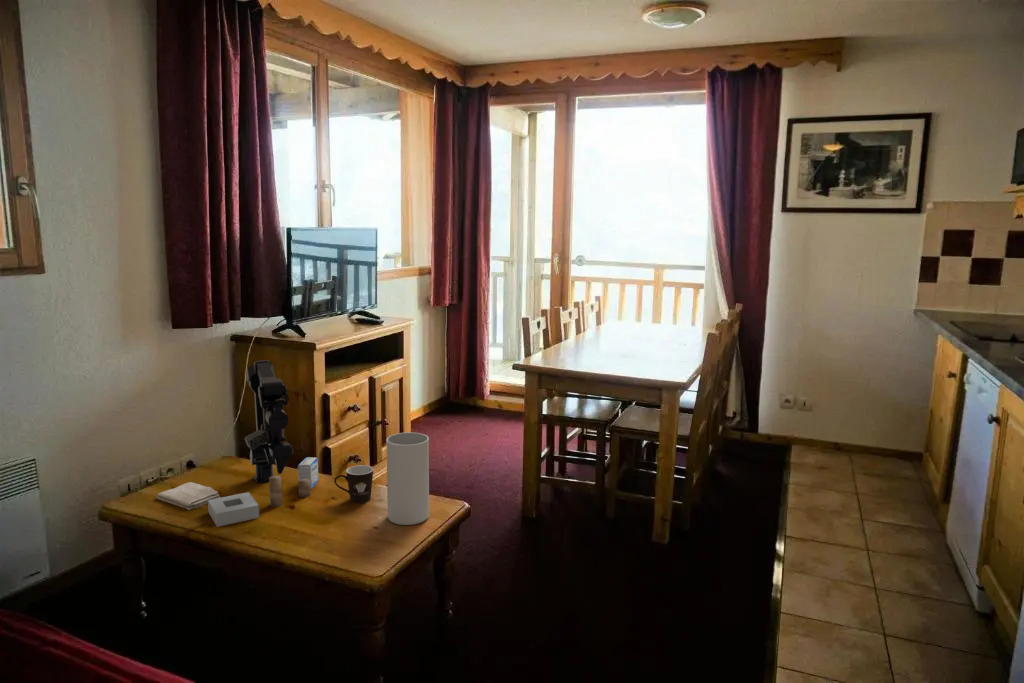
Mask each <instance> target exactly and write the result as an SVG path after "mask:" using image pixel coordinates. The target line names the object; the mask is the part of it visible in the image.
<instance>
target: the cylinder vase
mask: <svg viewBox="0 0 1024 683" xmlns="http://www.w3.org/2000/svg"><path fill="white" fill-rule="evenodd" d="M429 440H430V439H429V436H428V435H426V434H424V433H420V432H399V433H394V434H391V435H388V437H387V438H386V486H387V487H386V490H387V491H386V492H387V493H386V494H387V496H386V498H387V500H386V502H387V509H386V510H387V519H388V520H389V522H391V523H393V524H396V525H398V526H411V525H412V526H413V525H417V524H421V523H423V522H425V521H426V520H427V519H428V518H429V516H430V470H429V469H430V462H429V460H430V457H429V456H430V455H429V454H430V453H429V450H430V447H429V446H430V445H429V444H430V443H429V442H430V441H429Z"/></svg>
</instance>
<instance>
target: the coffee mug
mask: <svg viewBox="0 0 1024 683" xmlns="http://www.w3.org/2000/svg"><path fill="white" fill-rule="evenodd" d="M345 473H346V475H345V474H338V475H337V476H336V477H335V478H334V485H335V486H336V487H338V489H341V490H343V491H344V492H346V493H348V494H349V499H350V502H351V503H354V504H365V503H368V502H370V501H371V498H372V497H371V496H372V488H373V487H372V486H373V477H374V476H373V475H374V468H373V467H372V466H370V465H363V464H362V465H361V464H360V465H354V466H350V467H348V468H347V469H346V471H345ZM339 478H344V479H345V481H346V482H347V485H348V486H347V487H348V489H347V488H345V487H342V486H340V485H339V484H338V483H337V480H338V479H339Z"/></svg>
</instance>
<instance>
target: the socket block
mask: <svg viewBox="0 0 1024 683" xmlns="http://www.w3.org/2000/svg"><path fill="white" fill-rule="evenodd" d="M259 506H260V504H258V502H257V501H256V500H255V498H254V497H253V496H252V494H251V493H250V492H249V491H247V492H243V493H237V494H233V495H229V496H223V497H221V498H217V499H212V500H208V504H207V507H208V514H209V516H210V517H211V519H212V521H213V522H214V524H215V526H216V527H217V528H219V527H223V526H226V525H227V526H228V525H231V524H235V523H236V524H237V523H241V522H245V521H250V520H254V519H259V518H260V509H259V508H260V507H259Z"/></svg>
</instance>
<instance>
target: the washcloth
mask: <svg viewBox="0 0 1024 683" xmlns="http://www.w3.org/2000/svg"><path fill="white" fill-rule="evenodd" d="M218 493H219V491H217V490H215V489H213V488H212V487H211V486H205V485H202V484H199V483H195V482H192V481H189V482H185V483H182V484H181V485H179V486H176V487H174V488H170V489H166V490H164V491H162V492H159V493H157V495H156V499H157V500H160V501H162V502H166V503H168V504H171V505H175V506H177V507H181V508H182V507H183V509H185V508H186V510H188V511H191V510H193V509H197V508H200V507H203V506H205V505H208V500H212V499H217V498H222V497H221V496H220V494H218Z"/></svg>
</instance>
